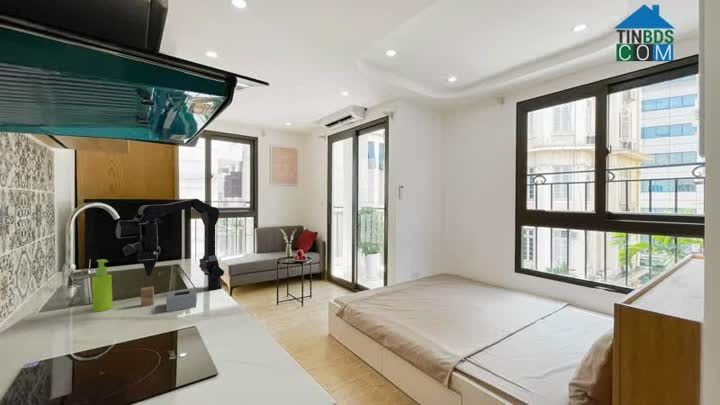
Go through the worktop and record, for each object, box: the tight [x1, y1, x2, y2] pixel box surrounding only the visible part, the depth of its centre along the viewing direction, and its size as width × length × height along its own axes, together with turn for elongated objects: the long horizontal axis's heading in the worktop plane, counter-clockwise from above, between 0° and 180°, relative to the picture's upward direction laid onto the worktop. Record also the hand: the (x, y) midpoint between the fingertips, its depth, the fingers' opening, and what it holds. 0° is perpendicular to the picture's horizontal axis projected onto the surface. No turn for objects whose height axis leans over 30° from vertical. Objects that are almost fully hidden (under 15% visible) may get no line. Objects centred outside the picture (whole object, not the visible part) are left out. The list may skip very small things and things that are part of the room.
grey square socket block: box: [165, 287, 198, 312], centre depth 120 cm, size 10×10×5 cm
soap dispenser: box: [91, 258, 113, 313], centre depth 117 cm, size 6×7×20 cm
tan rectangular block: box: [140, 286, 155, 308], centre depth 121 cm, size 3×4×7 cm
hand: (150, 273), depth 121 cm, fingers open, 9 cm apart
